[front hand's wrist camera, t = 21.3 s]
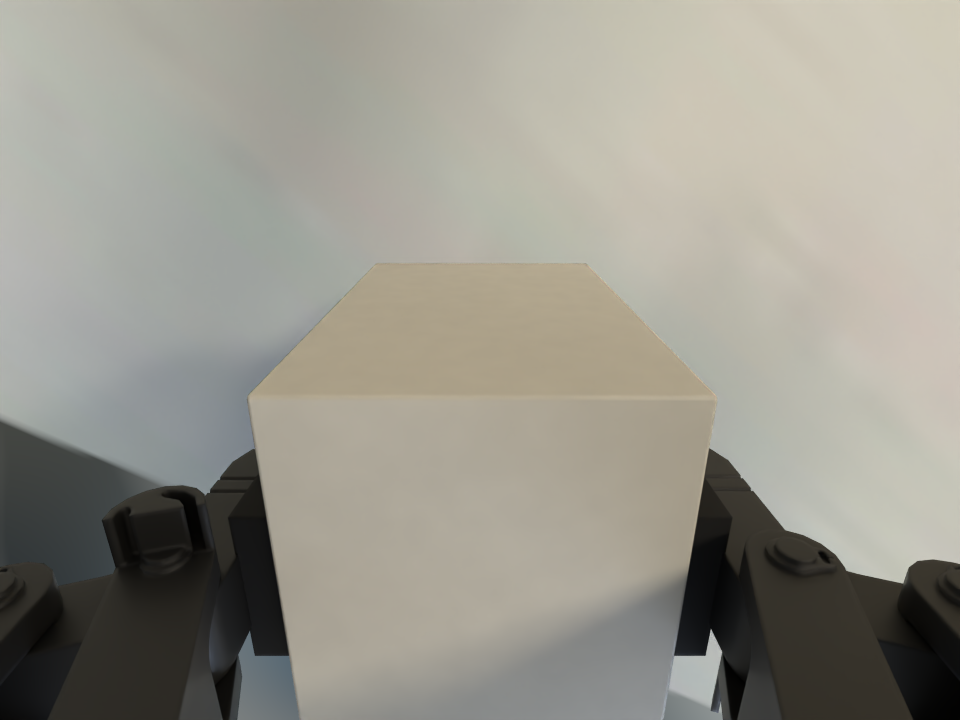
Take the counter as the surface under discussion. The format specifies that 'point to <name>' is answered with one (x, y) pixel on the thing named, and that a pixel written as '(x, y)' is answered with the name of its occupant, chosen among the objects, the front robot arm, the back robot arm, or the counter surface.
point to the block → (481, 497)
